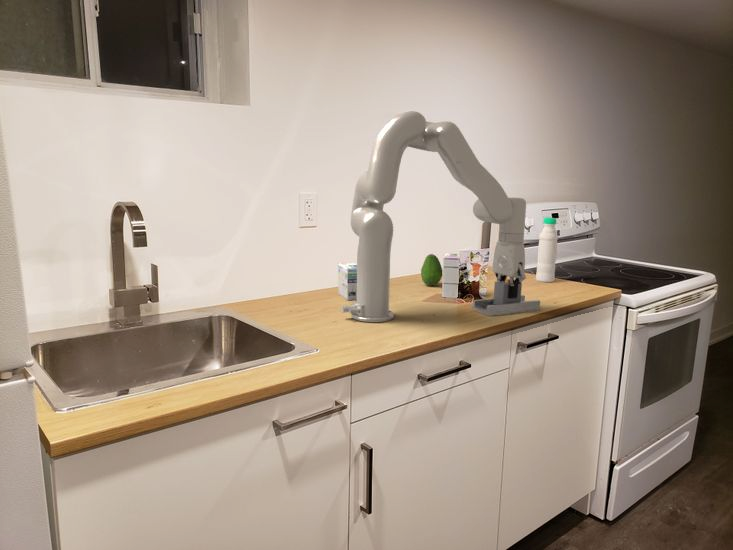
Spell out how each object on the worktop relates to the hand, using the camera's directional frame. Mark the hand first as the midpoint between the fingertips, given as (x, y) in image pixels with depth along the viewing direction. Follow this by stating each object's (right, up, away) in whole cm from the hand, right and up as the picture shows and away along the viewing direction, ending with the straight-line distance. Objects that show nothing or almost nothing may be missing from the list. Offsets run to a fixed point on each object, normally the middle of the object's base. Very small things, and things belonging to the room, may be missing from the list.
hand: (507, 295), depth 175 cm
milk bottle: (+27, +4, +47) cm, 54 cm away
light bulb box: (-49, -1, +14) cm, 51 cm away
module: (0, -3, +1) cm, 3 cm away
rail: (0, -4, +1) cm, 5 cm away
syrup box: (-15, -1, +18) cm, 23 cm away
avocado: (-20, +2, +34) cm, 39 cm away
